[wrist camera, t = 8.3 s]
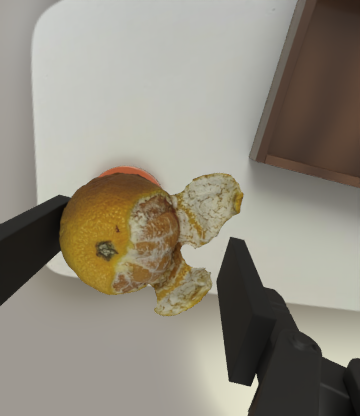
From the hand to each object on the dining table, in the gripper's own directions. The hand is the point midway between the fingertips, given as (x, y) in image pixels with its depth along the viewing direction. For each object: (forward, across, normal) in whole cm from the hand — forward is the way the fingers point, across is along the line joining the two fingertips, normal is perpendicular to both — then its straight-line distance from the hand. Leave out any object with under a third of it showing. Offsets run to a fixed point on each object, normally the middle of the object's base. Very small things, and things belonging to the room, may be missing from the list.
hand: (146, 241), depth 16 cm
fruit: (0, +1, 0) cm, 1 cm away
